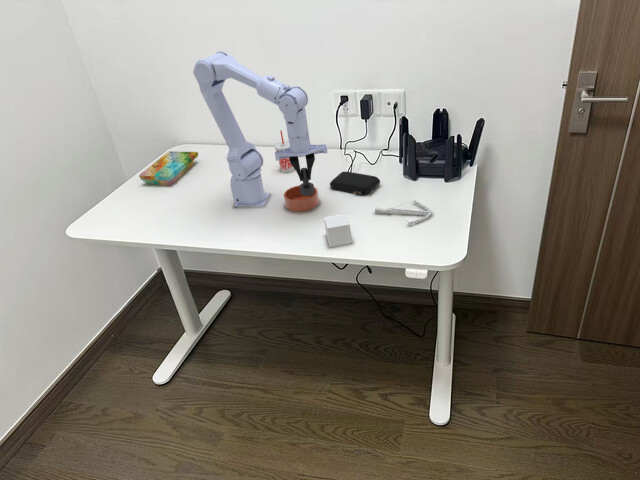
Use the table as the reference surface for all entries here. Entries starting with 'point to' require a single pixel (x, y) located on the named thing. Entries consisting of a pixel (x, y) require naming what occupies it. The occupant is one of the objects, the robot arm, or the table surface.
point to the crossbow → (407, 212)
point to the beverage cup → (285, 162)
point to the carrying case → (355, 183)
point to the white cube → (338, 230)
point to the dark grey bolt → (306, 184)
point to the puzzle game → (168, 168)
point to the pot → (300, 200)
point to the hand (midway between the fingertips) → (305, 179)
